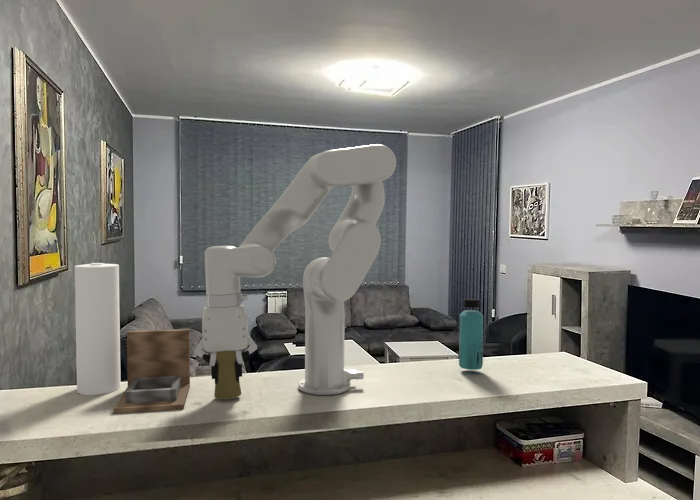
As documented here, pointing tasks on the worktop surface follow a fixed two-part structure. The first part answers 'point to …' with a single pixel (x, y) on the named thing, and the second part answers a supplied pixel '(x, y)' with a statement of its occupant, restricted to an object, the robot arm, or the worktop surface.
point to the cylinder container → (97, 328)
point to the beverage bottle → (471, 337)
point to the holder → (156, 371)
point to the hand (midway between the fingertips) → (227, 380)
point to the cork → (226, 376)
